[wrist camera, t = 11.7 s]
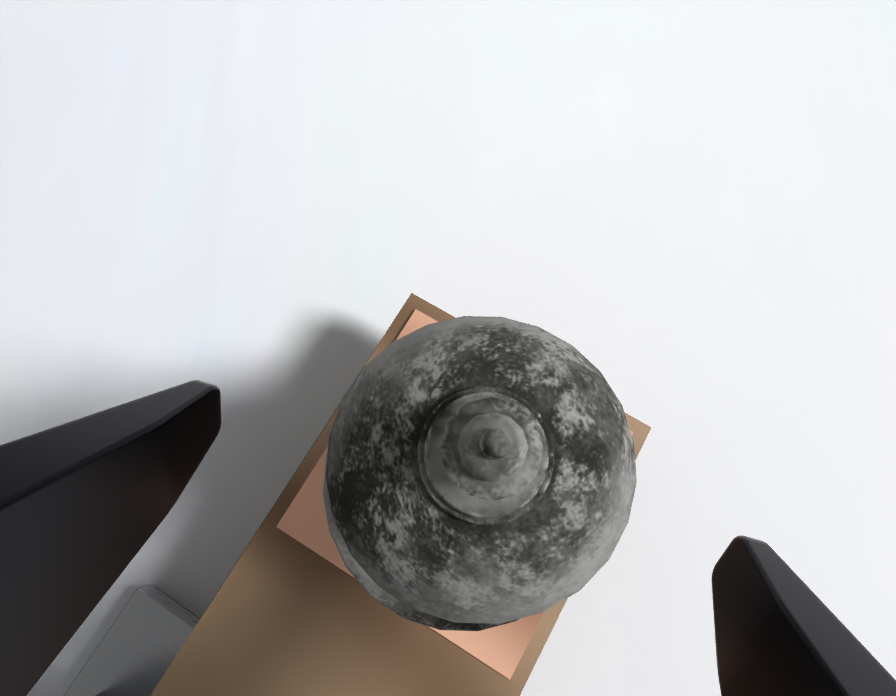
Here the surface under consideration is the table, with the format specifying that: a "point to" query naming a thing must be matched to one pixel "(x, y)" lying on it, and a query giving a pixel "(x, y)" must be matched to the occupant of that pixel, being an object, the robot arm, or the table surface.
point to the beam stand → (136, 647)
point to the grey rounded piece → (477, 473)
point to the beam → (340, 610)
